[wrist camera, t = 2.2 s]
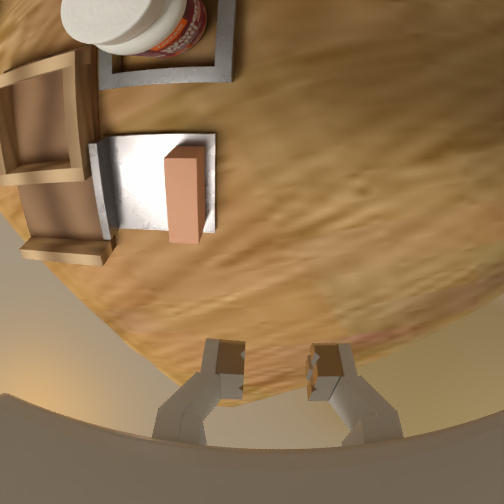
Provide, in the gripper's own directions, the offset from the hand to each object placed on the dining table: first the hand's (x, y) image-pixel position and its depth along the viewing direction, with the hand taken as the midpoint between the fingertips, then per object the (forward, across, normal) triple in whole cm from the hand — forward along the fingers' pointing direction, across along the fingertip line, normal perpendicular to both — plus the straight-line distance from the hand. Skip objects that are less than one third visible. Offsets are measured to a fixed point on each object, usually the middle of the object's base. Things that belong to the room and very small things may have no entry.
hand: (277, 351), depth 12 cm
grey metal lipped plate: (+17, +10, 0) cm, 20 cm away
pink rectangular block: (+17, +6, 0) cm, 18 cm away
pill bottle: (+17, +8, -14) cm, 24 cm away
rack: (+17, +20, -3) cm, 27 cm away
